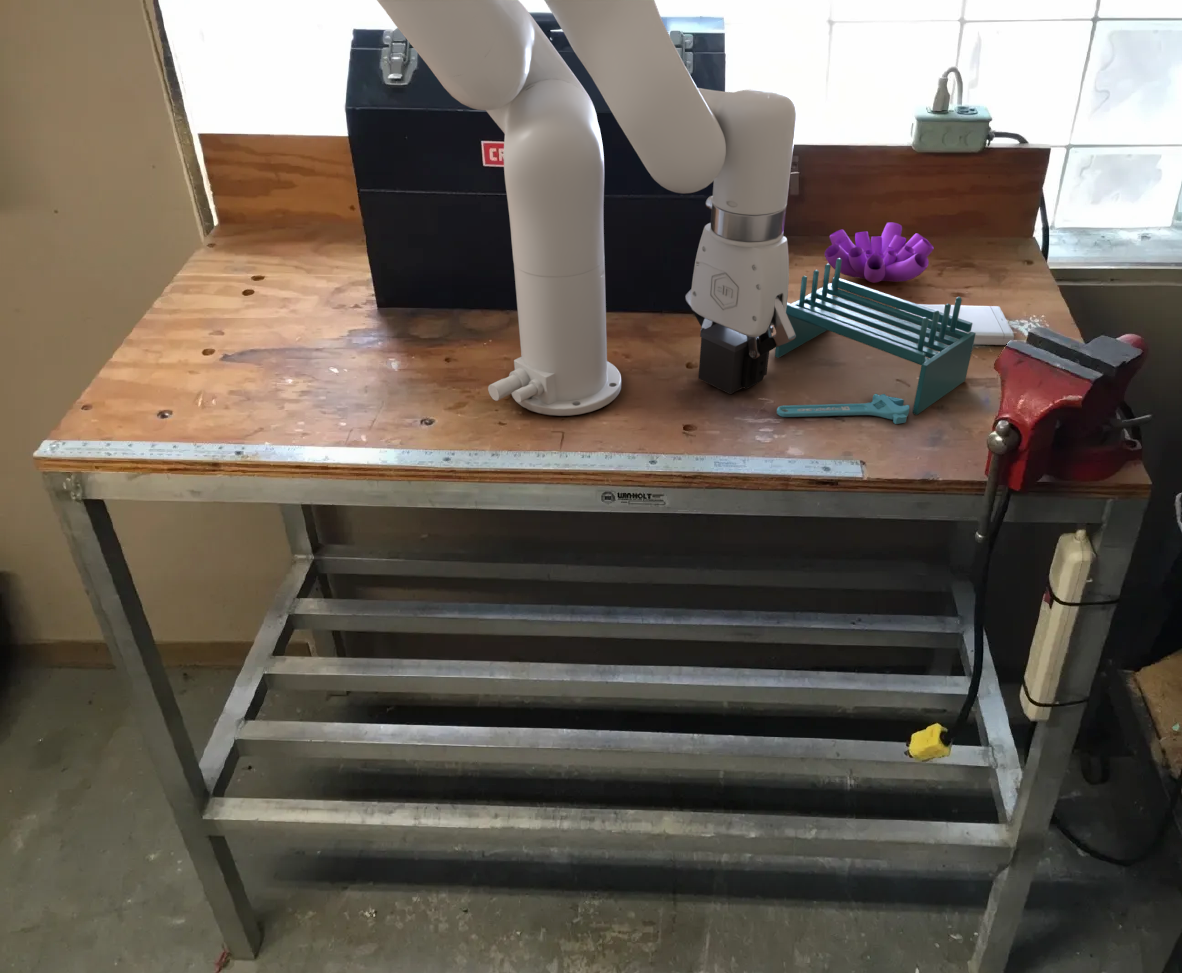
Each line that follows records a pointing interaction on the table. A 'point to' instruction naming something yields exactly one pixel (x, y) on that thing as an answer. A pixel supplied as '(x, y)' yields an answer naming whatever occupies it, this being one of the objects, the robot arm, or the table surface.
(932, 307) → the hard drive
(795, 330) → the rack
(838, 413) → the adjustable wrench
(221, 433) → the table surface
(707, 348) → the black box
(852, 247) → the purple tubular cluster
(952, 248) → the table surface
